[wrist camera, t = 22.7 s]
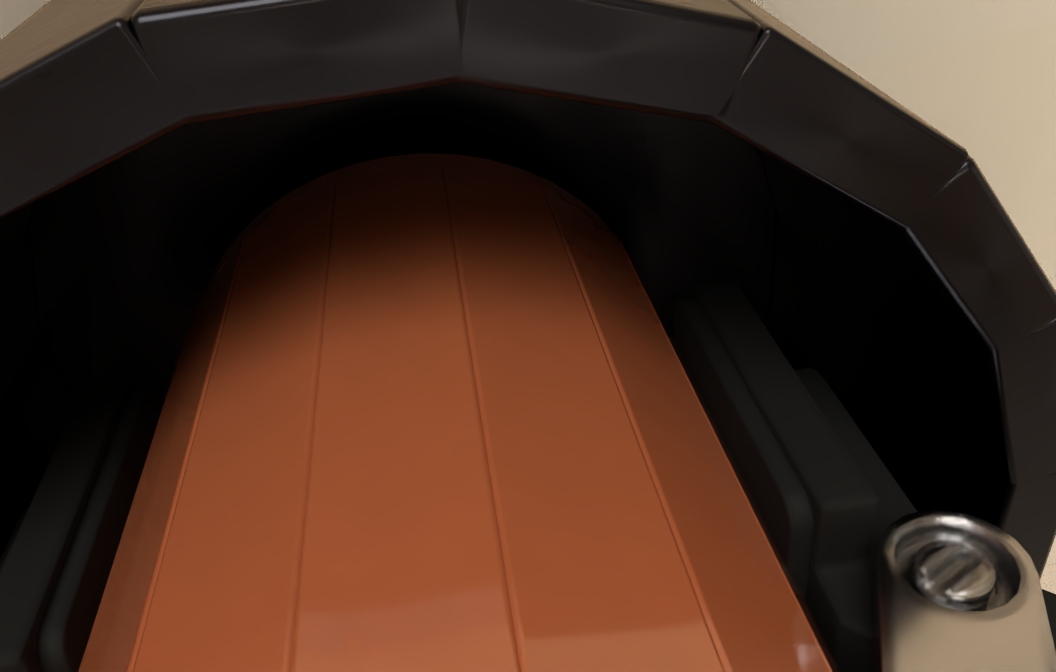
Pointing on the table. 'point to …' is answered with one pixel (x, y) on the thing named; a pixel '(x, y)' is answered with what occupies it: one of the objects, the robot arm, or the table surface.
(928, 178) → the pan
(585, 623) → the container
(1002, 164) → the table surface
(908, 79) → the table surface
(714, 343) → the robot arm
